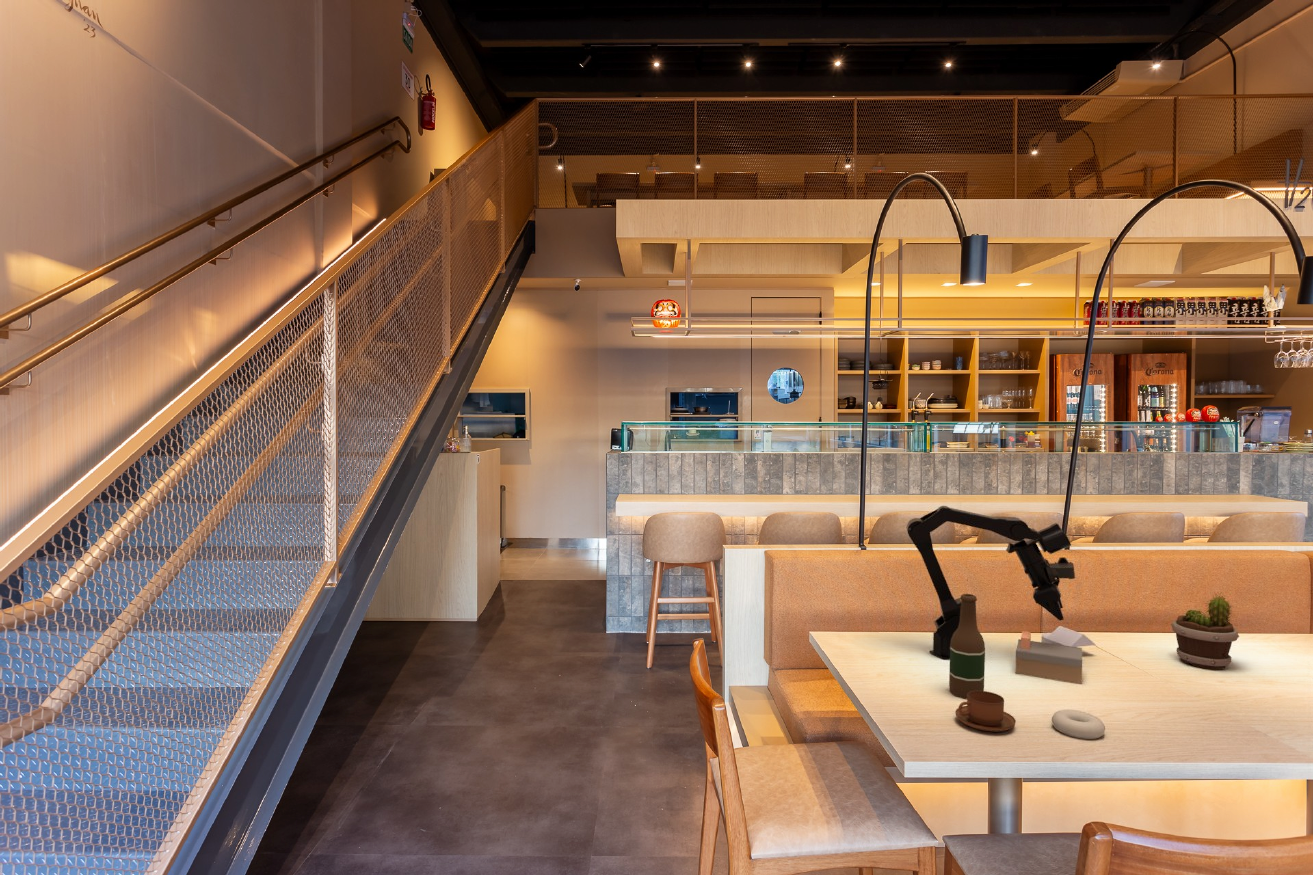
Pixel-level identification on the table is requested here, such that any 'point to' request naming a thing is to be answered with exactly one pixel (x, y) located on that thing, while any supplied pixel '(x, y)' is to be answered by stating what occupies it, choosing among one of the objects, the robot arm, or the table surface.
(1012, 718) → the cup and saucer
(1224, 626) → the flowerpot
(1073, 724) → the donut
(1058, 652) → the lid
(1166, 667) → the table surface
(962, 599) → the beer bottle
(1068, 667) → the base
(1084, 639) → the wedge on round base
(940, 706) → the table surface
